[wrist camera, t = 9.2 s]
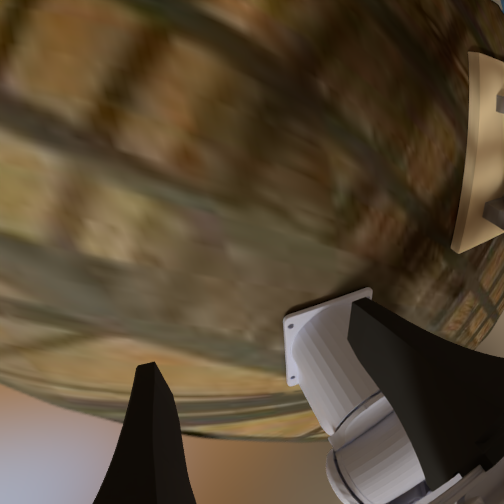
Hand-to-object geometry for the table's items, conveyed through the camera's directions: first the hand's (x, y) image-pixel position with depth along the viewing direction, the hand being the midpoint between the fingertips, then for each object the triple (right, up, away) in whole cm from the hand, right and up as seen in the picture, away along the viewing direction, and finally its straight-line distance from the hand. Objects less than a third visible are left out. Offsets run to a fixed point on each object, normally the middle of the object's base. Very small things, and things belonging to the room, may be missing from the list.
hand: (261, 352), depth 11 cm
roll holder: (+24, +13, +12) cm, 31 cm away
